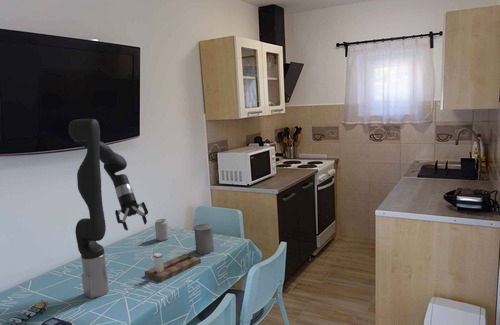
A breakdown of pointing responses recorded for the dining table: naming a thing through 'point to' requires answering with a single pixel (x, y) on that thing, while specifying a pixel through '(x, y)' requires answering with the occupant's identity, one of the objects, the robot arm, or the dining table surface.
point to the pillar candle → (204, 238)
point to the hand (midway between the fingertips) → (136, 227)
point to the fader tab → (158, 263)
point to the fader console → (173, 267)
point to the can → (161, 229)
